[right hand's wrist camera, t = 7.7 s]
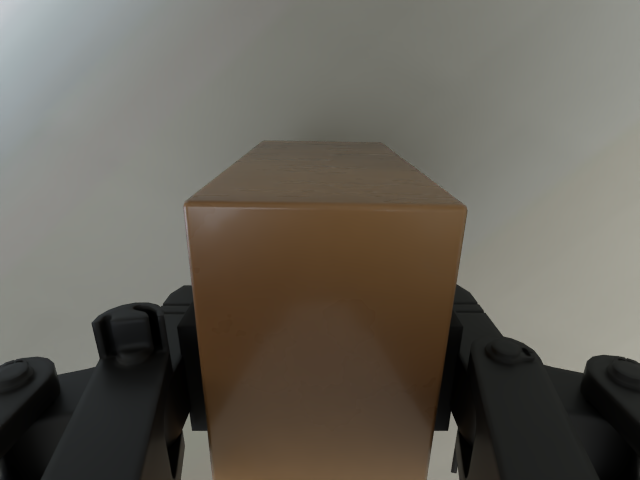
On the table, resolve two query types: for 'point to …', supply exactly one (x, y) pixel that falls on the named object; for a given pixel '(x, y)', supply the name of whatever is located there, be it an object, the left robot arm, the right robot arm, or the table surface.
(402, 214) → the beam
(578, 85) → the table surface
